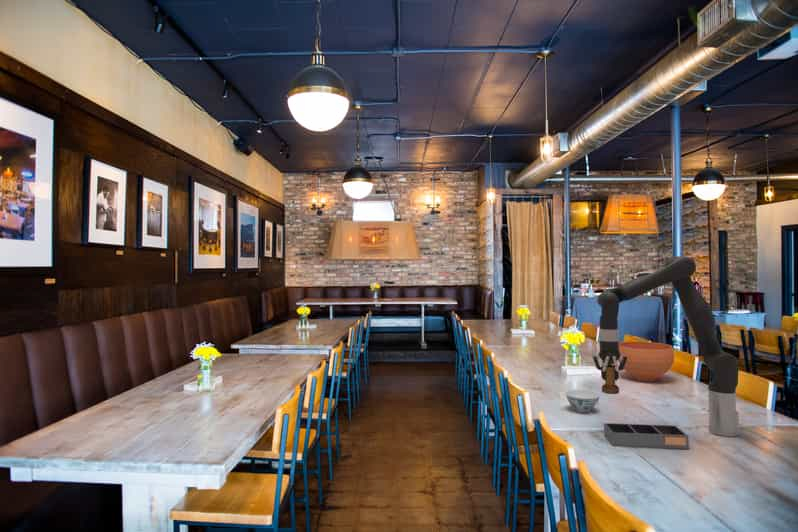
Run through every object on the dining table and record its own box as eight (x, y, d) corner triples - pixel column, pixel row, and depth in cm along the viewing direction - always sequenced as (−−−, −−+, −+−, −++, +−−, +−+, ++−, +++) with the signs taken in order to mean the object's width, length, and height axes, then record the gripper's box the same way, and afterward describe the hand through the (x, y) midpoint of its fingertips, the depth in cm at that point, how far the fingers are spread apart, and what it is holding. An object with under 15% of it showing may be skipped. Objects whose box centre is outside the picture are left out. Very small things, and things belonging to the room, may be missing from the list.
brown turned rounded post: (609, 394, 192) (607, 351, 192) (598, 391, 198) (597, 349, 198) (622, 393, 194) (621, 350, 194) (611, 389, 200) (610, 347, 200)
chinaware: (603, 415, 213) (602, 399, 213) (568, 414, 216) (568, 397, 216) (595, 406, 228) (595, 390, 228) (563, 404, 231) (563, 389, 231)
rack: (675, 438, 185) (675, 425, 185) (689, 449, 173) (688, 436, 173) (604, 435, 189) (604, 423, 189) (612, 446, 177) (612, 433, 177)
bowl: (606, 377, 285) (605, 343, 285) (639, 371, 298) (639, 339, 298) (650, 388, 258) (650, 351, 258) (685, 381, 271) (685, 346, 271)
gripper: (624, 338, 199) (625, 378, 199) (589, 338, 201) (590, 377, 201) (629, 340, 191) (630, 382, 191) (593, 340, 194) (594, 381, 194)
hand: (610, 379), depth 196 cm, fingers closed on brown turned rounded post, 4 cm apart
